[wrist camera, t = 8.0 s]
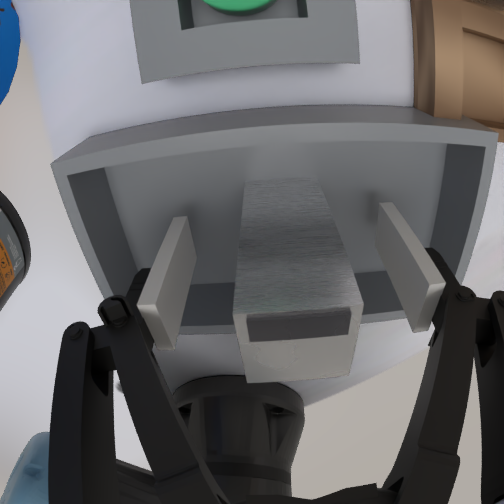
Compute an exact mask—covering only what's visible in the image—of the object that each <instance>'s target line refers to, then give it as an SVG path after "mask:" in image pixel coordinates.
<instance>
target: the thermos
mask: <svg viewBox="0 0 504 504" xmlns="http://www.w3.org/2000/svg"><path fill="white" fill-rule="evenodd" d="M19 47H20V31H19V18H18V15H17V13H16V11H15V9H14V6H13V4H12V2H11V0H0V104H1V103H2V101H3V100H4V98H5V96H6V94H7V93H8V92H9V88H10V85H11V83H12V80H13V77H14V74H15V71H16V68H17V62H18V55H19Z"/></svg>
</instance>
